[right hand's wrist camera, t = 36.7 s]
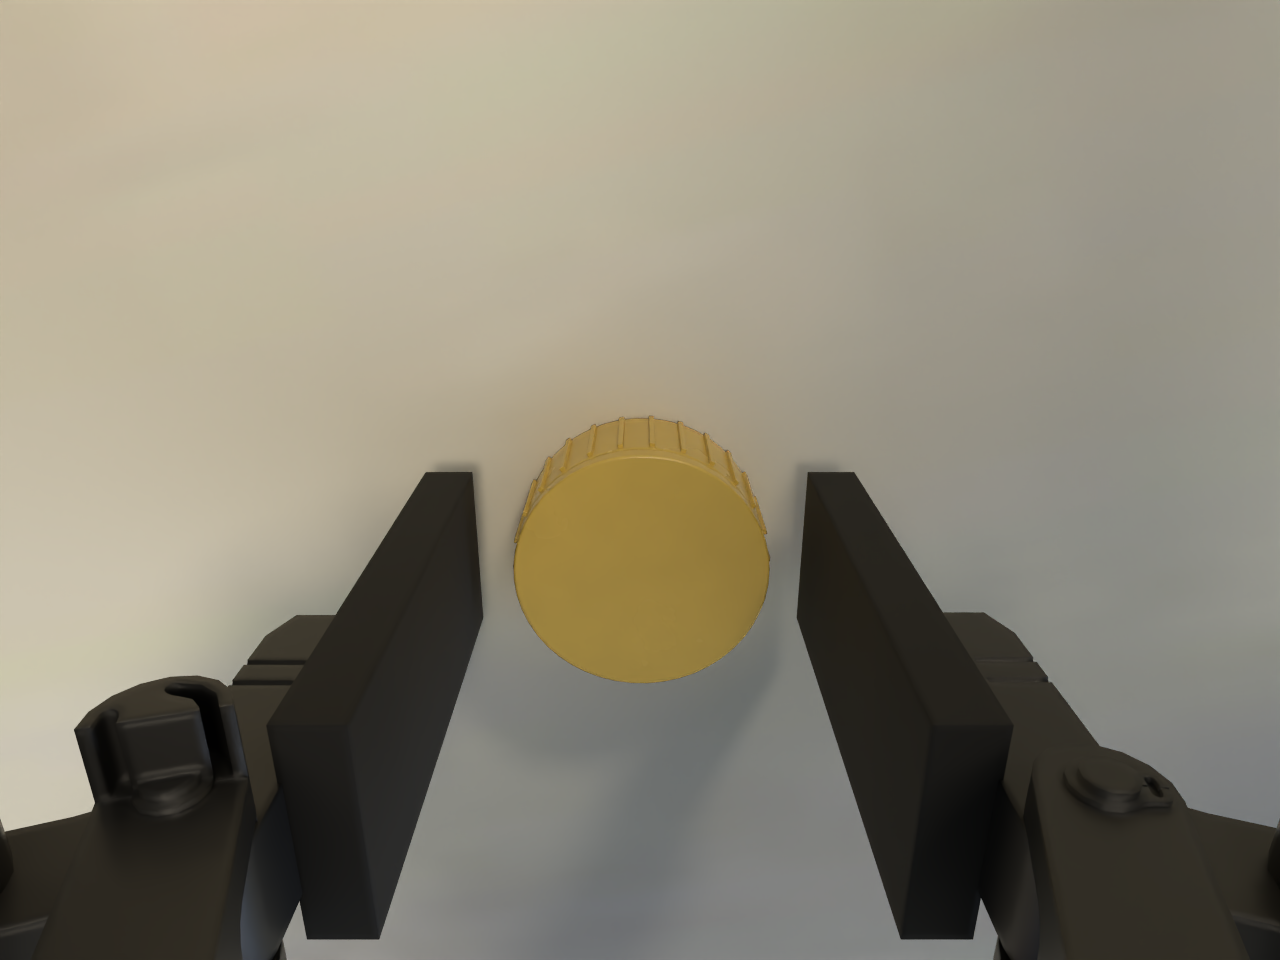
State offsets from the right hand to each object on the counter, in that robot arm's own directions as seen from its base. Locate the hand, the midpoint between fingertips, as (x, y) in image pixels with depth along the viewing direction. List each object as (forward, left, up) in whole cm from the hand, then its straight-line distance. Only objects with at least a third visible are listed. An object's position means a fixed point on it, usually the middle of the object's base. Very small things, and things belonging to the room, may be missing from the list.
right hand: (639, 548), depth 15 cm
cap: (0, 0, +1) cm, 1 cm away
